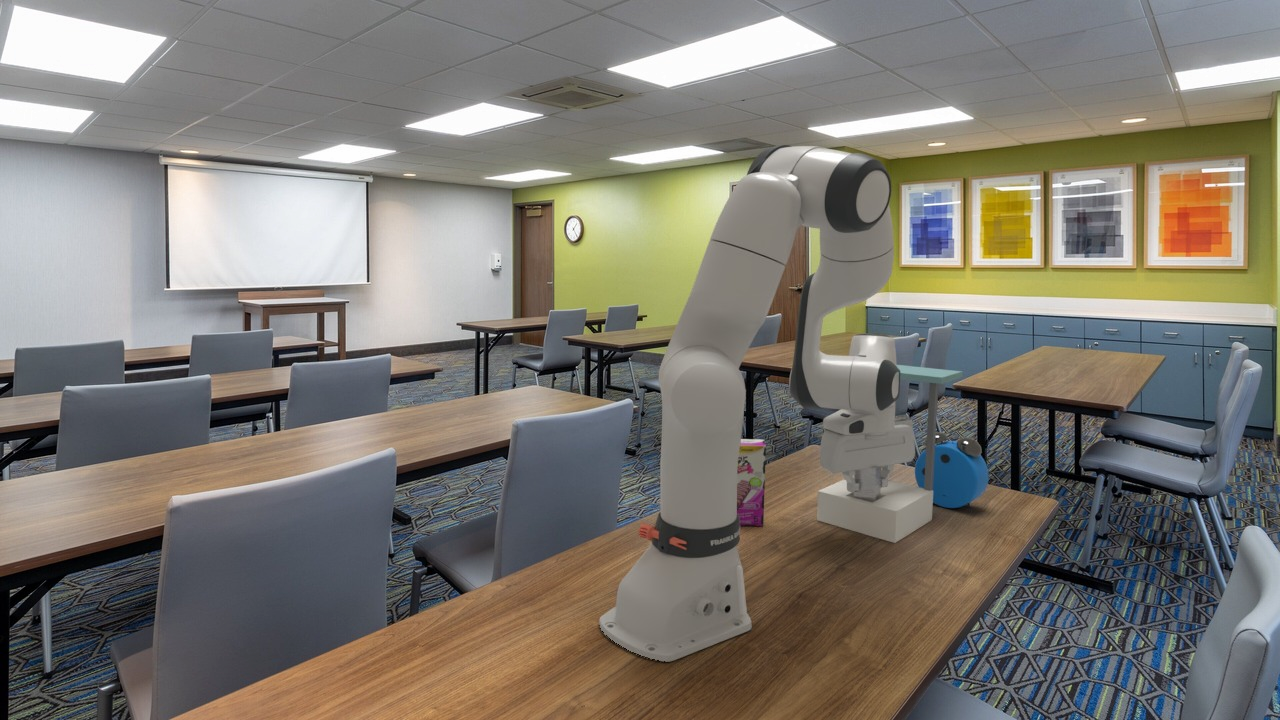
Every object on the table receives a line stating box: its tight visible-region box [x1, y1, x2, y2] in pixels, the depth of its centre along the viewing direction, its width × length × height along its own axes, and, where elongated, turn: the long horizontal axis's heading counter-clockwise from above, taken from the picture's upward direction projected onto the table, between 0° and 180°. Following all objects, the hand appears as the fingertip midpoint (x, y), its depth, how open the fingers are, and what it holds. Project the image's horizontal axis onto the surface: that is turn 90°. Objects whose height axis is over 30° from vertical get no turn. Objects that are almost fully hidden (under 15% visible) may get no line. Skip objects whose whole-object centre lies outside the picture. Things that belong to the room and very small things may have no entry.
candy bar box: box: [737, 438, 767, 527], centre depth 133 cm, size 11×5×16 cm, turn 84°
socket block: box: [816, 364, 964, 544], centre depth 135 cm, size 22×20×29 cm
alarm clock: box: [914, 431, 990, 509], centre depth 142 cm, size 13×6×15 cm, turn 41°
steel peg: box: [854, 466, 882, 503], centre depth 131 cm, size 4×4×9 cm
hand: (867, 489), depth 131 cm, fingers closed on steel peg, 6 cm apart
